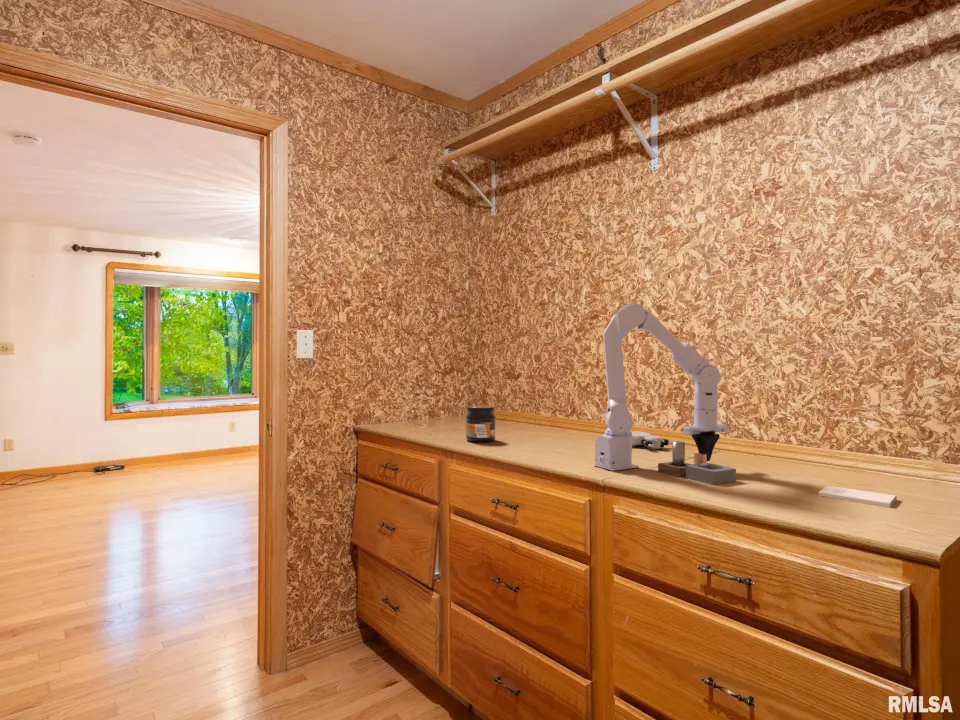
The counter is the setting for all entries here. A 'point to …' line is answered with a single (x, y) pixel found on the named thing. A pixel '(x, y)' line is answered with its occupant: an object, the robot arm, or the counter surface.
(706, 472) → the block
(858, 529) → the counter surface
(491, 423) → the supplement container
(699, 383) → the robot arm
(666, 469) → the socket block
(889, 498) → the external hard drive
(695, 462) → the pin
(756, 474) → the counter surface
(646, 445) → the robot toy
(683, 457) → the rounded metal peg
